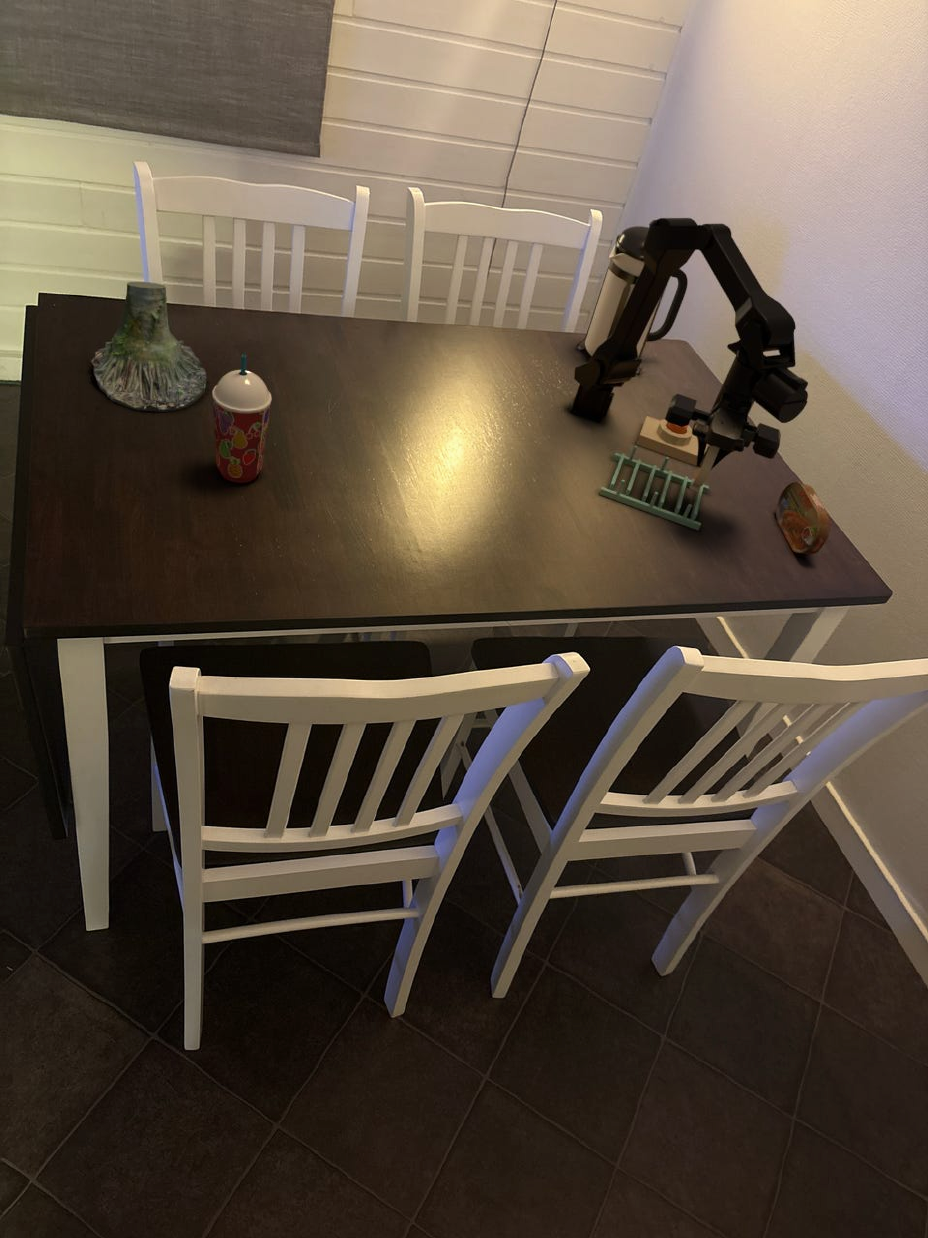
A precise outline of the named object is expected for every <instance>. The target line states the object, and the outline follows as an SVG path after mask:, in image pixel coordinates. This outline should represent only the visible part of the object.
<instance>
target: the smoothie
mask: <svg viewBox="0 0 928 1238" xmlns="http://www.w3.org/2000/svg"><path fill="white" fill-rule="evenodd" d="M240 357H241V359H240V361H241V362H240V369H235V370H231V371H228V372H227V373H226V374H224V375H223V376H221V378H220V379H219V380H218V382H217V384H216V385H215V386H214V387H213V389H212V391H211V393H212V394H211V395H212V408H213V409H212V410H213V424H214V426H213V427H214V443H215V461H216V468H217V470H219V471H220V474H221V476H222V477H223V478H224V479H226V480H227V481H230V482H232V483H237V484H239V483H240V484H244V483H248V482H252V481H253V480H255V479H256V478H257V477H258V475H259V474H260V473H261V471H262V468H263V465H264V456H265V448H266V442H267V435H268V433H267V432H268V426H269V421H270V420H269V419H270V412H271V406H272V405H271V403H272V402H273V401H272V400H273V397H272V394H271V392H270V391H269V389H268V388H267V384H265V382H264V381H263V379H262V378H261V377H260V376H259V375H258V374H256V373H254V372H252V371H250V370H247V368H246V367H247V355H246V354H241V356H240Z"/></svg>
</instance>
